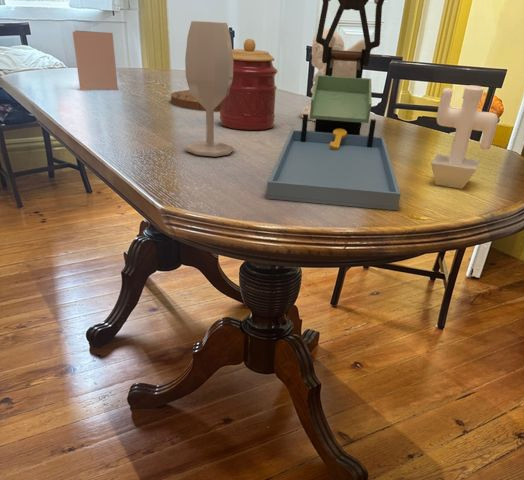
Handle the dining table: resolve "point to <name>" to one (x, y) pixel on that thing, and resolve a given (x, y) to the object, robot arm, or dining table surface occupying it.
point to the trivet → (188, 101)
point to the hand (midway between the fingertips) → (342, 80)
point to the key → (337, 138)
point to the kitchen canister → (250, 90)
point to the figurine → (462, 136)
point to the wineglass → (209, 77)
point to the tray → (335, 172)
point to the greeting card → (95, 60)
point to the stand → (331, 125)
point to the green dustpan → (342, 93)
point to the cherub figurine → (339, 66)
